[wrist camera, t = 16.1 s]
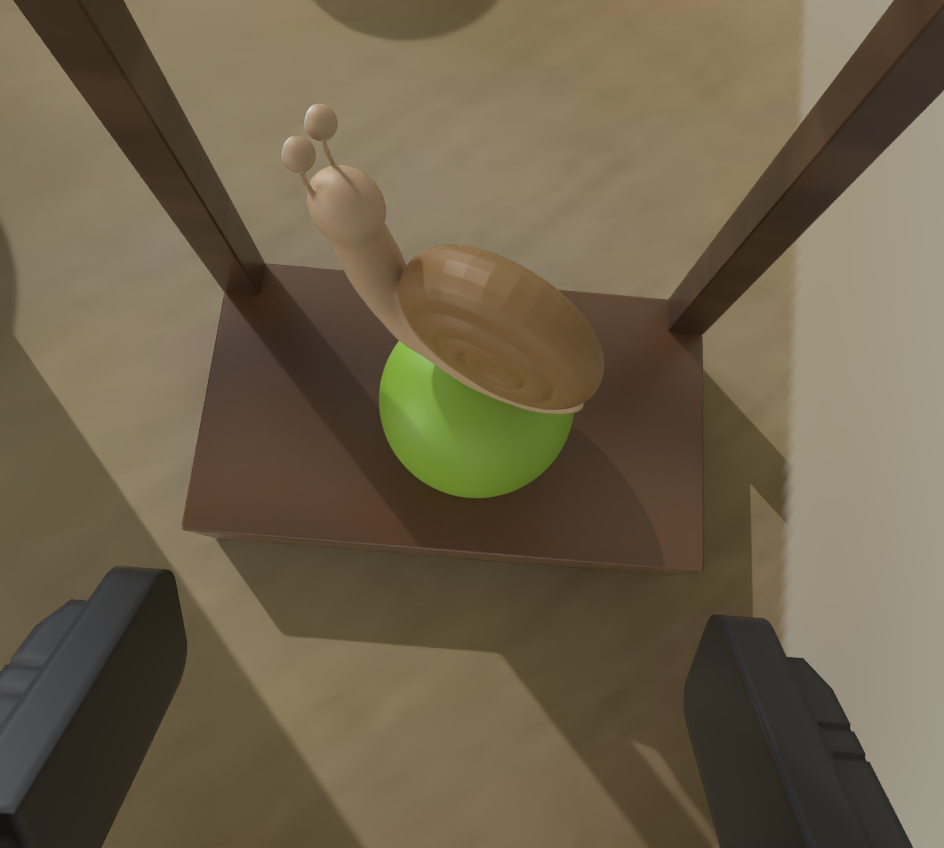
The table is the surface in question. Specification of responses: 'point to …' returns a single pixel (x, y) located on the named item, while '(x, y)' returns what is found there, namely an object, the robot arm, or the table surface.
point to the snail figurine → (455, 340)
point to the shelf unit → (370, 343)
